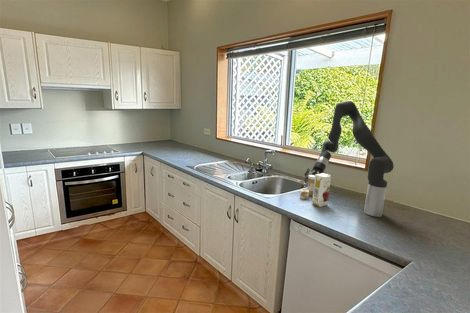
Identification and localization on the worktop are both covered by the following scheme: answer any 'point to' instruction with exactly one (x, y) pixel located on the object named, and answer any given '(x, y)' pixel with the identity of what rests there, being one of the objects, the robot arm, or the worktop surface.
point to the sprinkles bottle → (311, 184)
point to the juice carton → (321, 189)
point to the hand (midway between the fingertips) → (311, 183)
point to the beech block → (304, 194)
